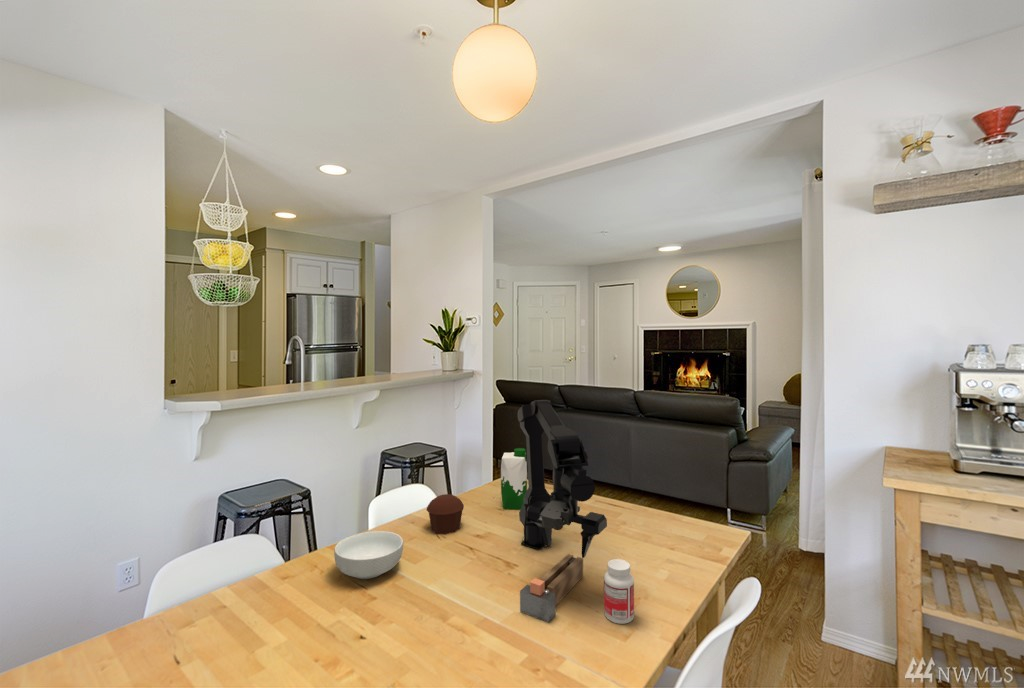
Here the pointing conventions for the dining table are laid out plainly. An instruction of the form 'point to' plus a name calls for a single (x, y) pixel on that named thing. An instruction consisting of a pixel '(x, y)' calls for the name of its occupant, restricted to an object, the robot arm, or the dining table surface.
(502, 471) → the milk carton
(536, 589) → the tab
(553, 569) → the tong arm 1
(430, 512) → the muffin
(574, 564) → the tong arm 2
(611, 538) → the dining table surface
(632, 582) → the pill bottle
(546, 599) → the grey block
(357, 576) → the cereal bowl
